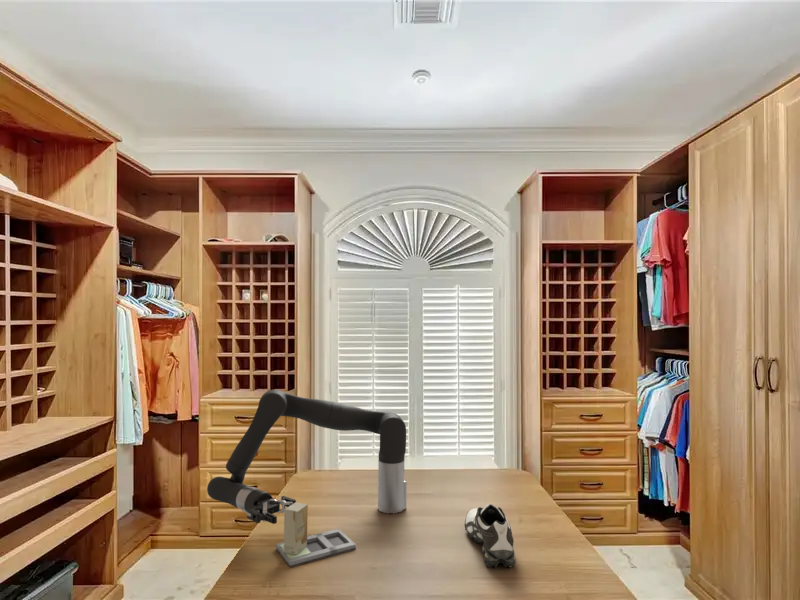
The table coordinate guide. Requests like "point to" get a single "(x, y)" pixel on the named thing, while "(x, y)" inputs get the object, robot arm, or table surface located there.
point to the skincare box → (295, 528)
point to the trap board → (319, 547)
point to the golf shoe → (491, 534)
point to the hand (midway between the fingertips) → (287, 515)
